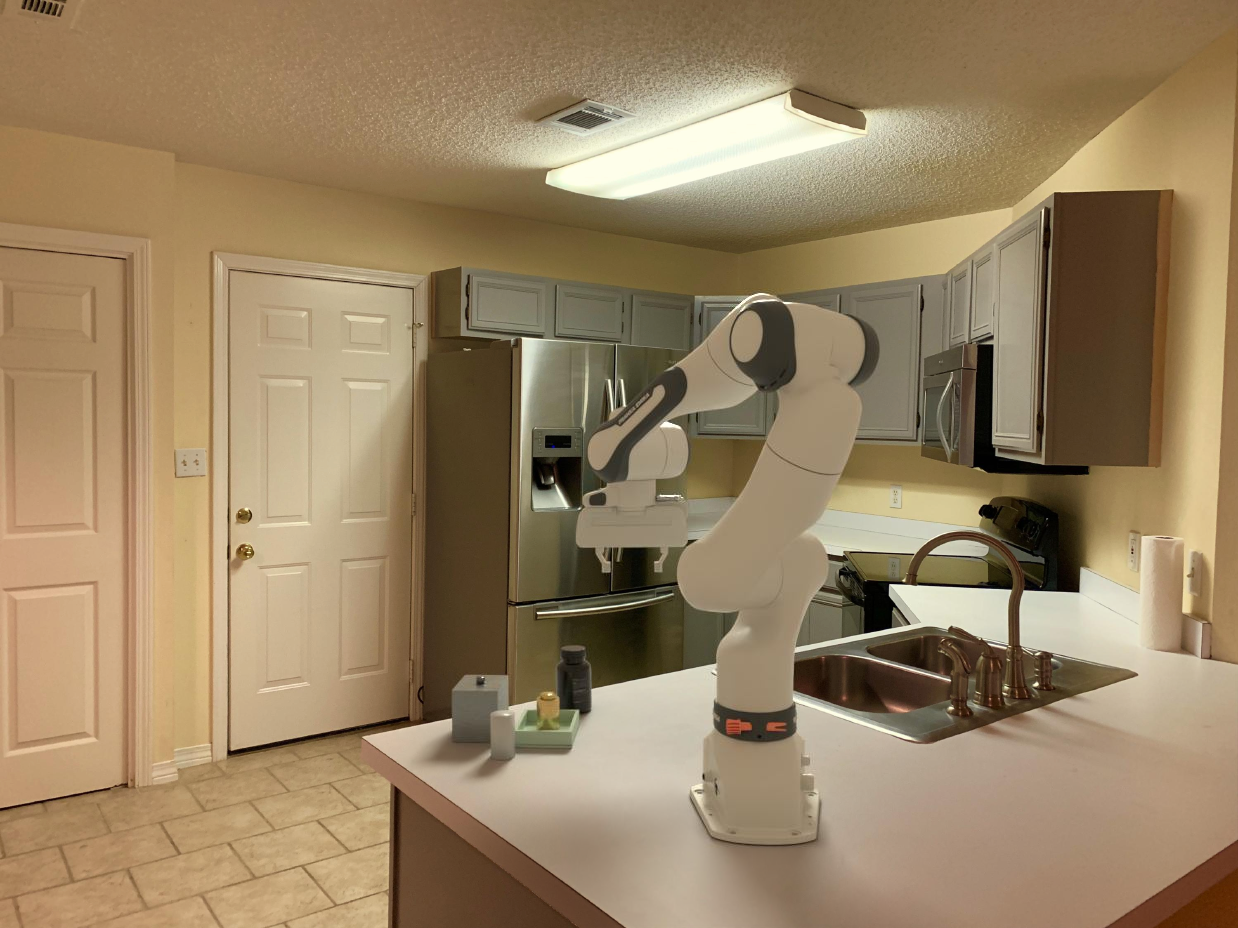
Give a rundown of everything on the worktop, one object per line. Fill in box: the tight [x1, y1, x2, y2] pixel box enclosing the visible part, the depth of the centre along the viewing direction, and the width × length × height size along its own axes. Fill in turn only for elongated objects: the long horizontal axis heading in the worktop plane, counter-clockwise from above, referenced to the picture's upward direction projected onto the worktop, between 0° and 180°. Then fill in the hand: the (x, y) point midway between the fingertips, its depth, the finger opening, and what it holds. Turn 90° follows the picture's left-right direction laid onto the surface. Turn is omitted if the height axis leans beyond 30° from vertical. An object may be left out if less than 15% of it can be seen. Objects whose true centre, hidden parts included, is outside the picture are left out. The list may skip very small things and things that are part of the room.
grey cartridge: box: [490, 710, 516, 761], centre depth 149 cm, size 4×4×7 cm
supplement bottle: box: [555, 644, 593, 715], centre depth 173 cm, size 7×7×12 cm
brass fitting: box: [536, 691, 559, 730], centre depth 159 cm, size 4×4×7 cm
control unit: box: [451, 674, 510, 744], centre depth 161 cm, size 10×8×10 cm
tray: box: [515, 708, 580, 749], centre depth 159 cm, size 12×10×3 cm
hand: (632, 571), depth 163 cm, fingers open, 8 cm apart
